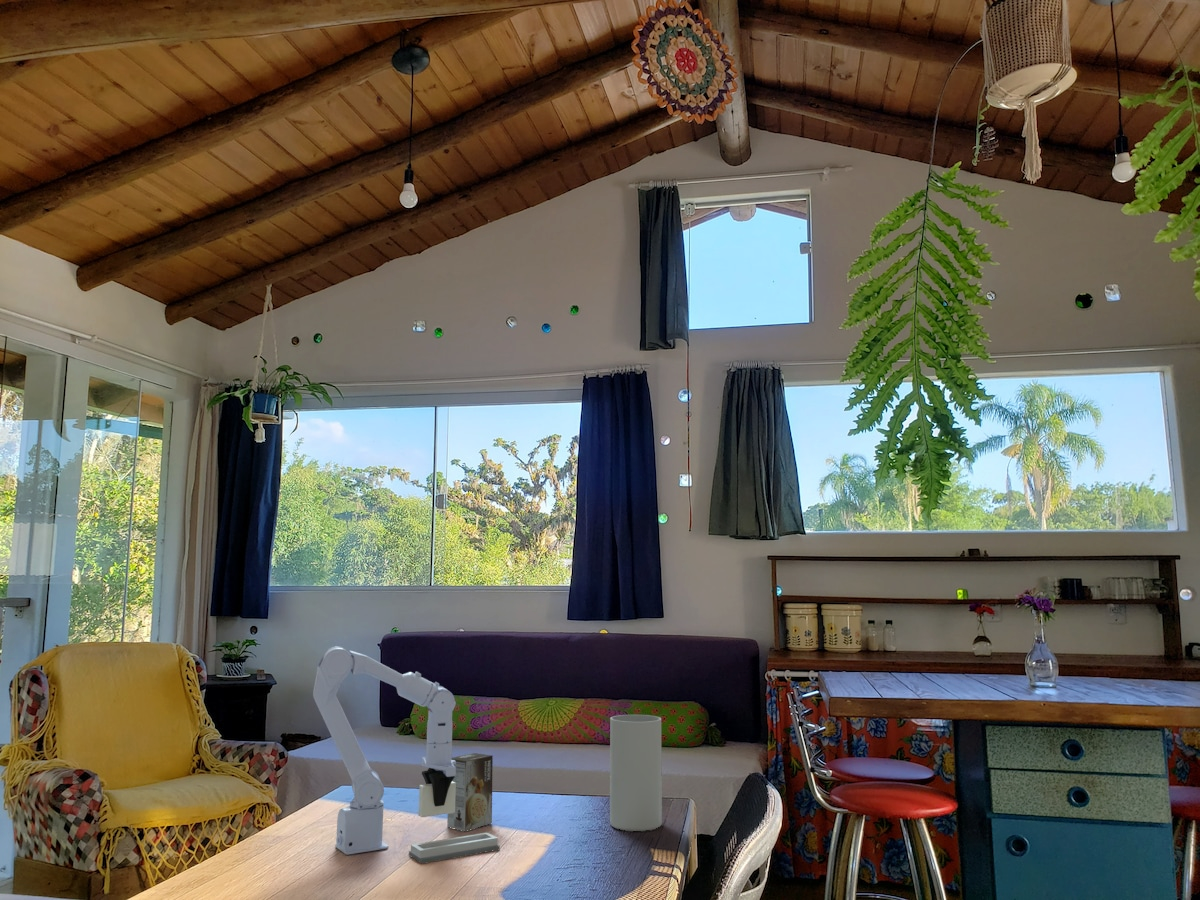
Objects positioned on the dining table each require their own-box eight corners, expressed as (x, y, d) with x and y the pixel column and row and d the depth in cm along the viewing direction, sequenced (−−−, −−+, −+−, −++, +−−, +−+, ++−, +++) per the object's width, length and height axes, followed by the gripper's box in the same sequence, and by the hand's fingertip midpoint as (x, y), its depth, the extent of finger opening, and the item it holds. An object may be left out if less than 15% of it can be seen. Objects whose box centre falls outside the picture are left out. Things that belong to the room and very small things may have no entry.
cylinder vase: (663, 832, 208) (662, 722, 212) (609, 832, 209) (610, 721, 213) (660, 819, 221) (660, 714, 225) (610, 818, 221) (610, 714, 225)
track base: (421, 863, 184) (422, 851, 185) (409, 855, 190) (409, 843, 190) (499, 849, 194) (499, 838, 195) (485, 842, 200) (485, 831, 200)
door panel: (421, 817, 198) (422, 786, 199) (418, 815, 200) (419, 785, 201) (455, 812, 203) (455, 782, 204) (451, 810, 204) (452, 781, 205)
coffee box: (473, 820, 219) (475, 752, 222) (492, 824, 215) (494, 755, 218) (446, 827, 212) (448, 757, 214) (465, 832, 208) (466, 760, 210)
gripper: (468, 745, 200) (467, 808, 198) (442, 736, 212) (440, 795, 210) (439, 748, 196) (437, 812, 194) (414, 738, 208) (412, 799, 206)
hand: (437, 804), depth 202 cm, fingers closed on door panel, 2 cm apart
